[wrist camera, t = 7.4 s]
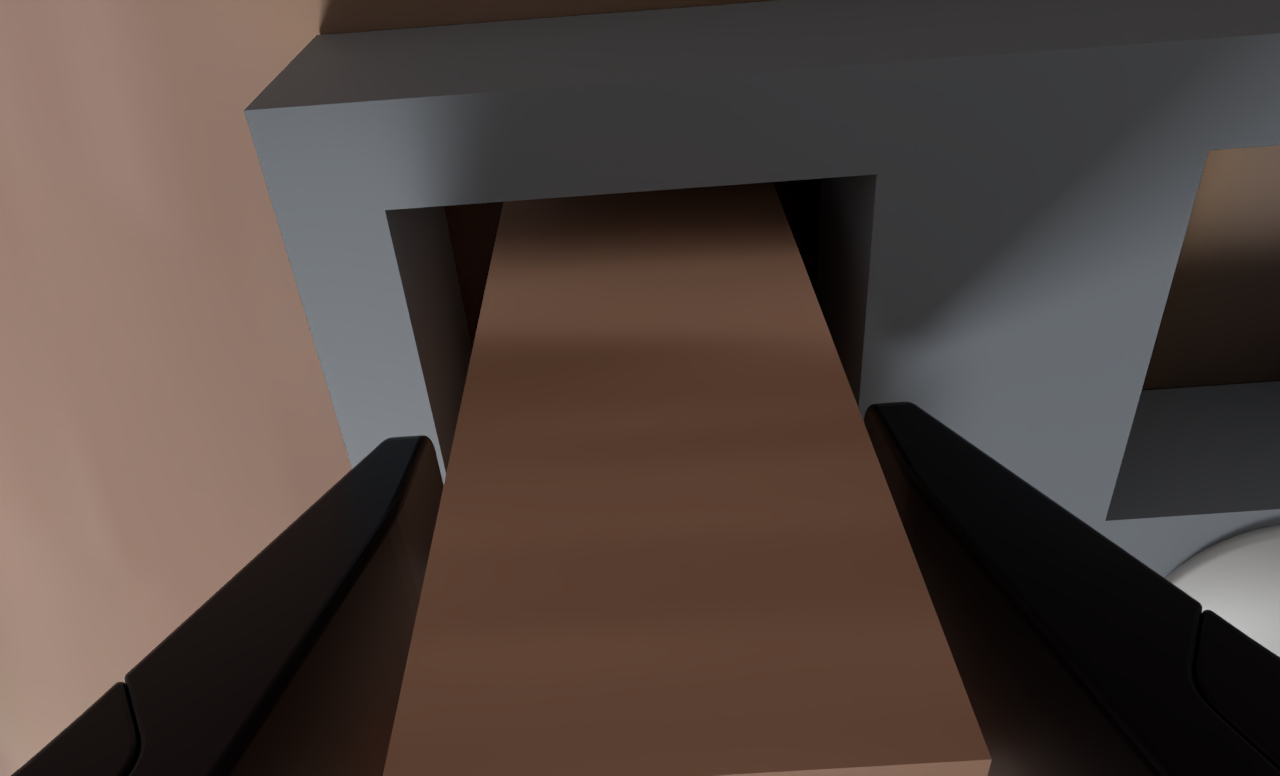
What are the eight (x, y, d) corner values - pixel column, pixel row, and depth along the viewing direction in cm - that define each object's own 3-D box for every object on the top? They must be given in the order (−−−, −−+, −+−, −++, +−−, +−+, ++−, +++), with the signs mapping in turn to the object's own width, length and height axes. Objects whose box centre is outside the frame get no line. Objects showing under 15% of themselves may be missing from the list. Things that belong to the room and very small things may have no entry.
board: (1340, 555, 15) (1653, 905, 11) (460, 613, 15) (399, 983, 11) (1636, -65, 10) (2477, 99, 6) (316, 34, 10) (87, 272, 6)
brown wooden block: (758, 371, 13) (919, 1030, 6) (537, 383, 13) (470, 1058, 6) (763, 157, 11) (991, 758, 5) (509, 173, 11) (378, 795, 5)
